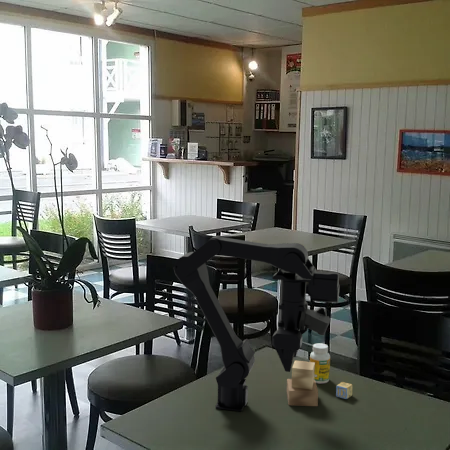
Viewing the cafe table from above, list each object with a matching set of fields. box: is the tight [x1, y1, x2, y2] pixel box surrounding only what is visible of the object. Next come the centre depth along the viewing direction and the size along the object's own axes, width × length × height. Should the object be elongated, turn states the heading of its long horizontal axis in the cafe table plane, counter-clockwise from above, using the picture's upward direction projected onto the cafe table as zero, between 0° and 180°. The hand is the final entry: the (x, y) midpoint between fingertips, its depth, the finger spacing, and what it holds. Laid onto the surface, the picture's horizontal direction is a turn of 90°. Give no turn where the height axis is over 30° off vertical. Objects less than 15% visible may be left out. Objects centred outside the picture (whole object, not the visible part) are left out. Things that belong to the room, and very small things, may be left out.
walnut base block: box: [286, 378, 319, 407], centre depth 143 cm, size 7×7×4 cm
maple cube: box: [291, 359, 315, 390], centre depth 143 cm, size 5×5×5 cm
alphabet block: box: [335, 381, 353, 400], centre depth 145 cm, size 3×3×3 cm
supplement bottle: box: [309, 342, 331, 384], centre depth 154 cm, size 5×5×10 cm
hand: (290, 363), depth 134 cm, fingers open, 9 cm apart
